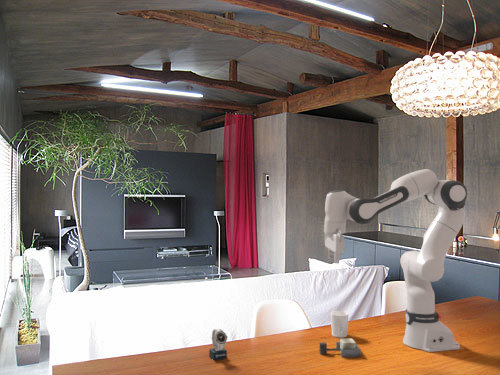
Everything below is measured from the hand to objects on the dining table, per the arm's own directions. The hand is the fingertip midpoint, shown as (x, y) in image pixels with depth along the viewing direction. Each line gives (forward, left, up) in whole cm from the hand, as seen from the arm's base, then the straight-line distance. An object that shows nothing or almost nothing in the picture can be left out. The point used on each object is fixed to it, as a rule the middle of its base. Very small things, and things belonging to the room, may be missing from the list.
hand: (333, 261), depth 182 cm
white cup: (-6, -13, -36) cm, 39 cm away
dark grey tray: (-4, +8, -36) cm, 37 cm away
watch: (+48, +11, -36) cm, 61 cm away
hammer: (0, +8, -36) cm, 37 cm away
